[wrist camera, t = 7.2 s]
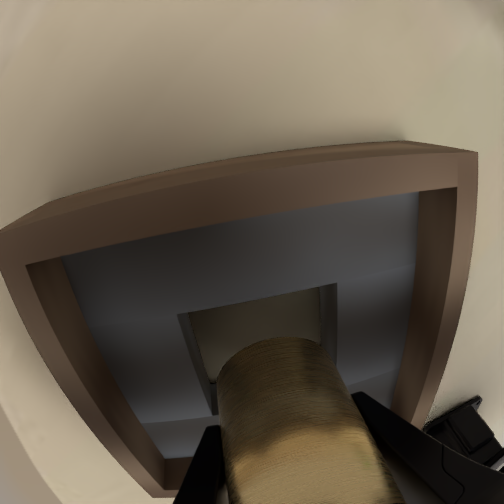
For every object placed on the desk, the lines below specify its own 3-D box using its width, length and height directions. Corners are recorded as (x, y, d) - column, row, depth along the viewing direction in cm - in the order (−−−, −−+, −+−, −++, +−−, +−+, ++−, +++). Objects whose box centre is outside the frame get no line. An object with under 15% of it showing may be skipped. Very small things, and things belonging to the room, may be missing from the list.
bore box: (387, 390, 16) (417, 438, 12) (155, 440, 15) (152, 497, 11) (406, 140, 11) (478, 152, 7) (48, 202, 10) (-12, 237, 6)
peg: (331, 404, 11) (400, 558, 4) (229, 427, 10) (256, 597, 4) (333, 323, 9) (453, 524, 3) (203, 351, 9) (224, 594, 2)
